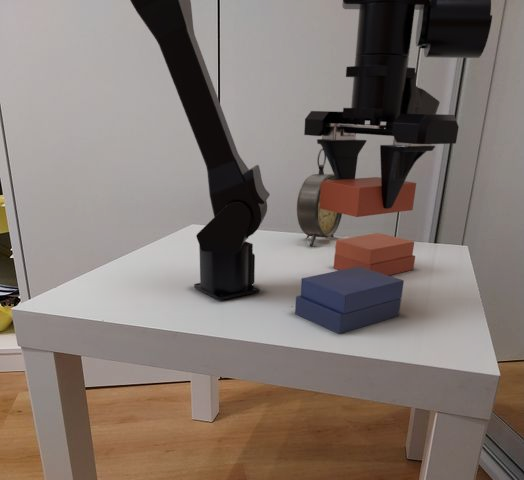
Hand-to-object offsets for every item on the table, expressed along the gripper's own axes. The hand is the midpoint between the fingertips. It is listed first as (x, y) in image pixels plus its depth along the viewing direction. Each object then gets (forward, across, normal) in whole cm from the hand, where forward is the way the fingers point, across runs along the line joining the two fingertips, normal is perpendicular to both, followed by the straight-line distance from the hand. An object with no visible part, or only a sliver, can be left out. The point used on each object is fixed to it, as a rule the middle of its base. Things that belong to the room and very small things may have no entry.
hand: (366, 204), depth 64 cm
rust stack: (+12, +9, -12) cm, 19 cm away
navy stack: (+12, -4, +5) cm, 14 cm away
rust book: (+1, 0, 0) cm, 1 cm away
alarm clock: (+12, +27, -17) cm, 34 cm away
